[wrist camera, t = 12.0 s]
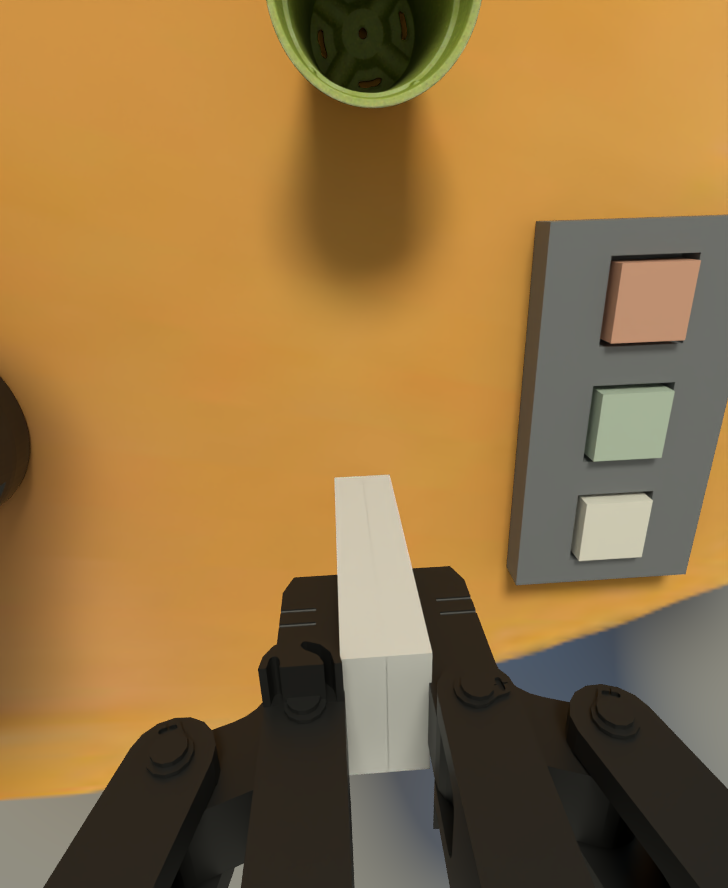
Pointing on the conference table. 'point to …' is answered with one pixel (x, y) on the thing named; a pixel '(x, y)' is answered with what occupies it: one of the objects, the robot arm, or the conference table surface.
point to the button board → (601, 363)
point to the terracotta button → (649, 299)
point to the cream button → (610, 525)
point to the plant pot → (374, 44)
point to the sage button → (628, 421)
